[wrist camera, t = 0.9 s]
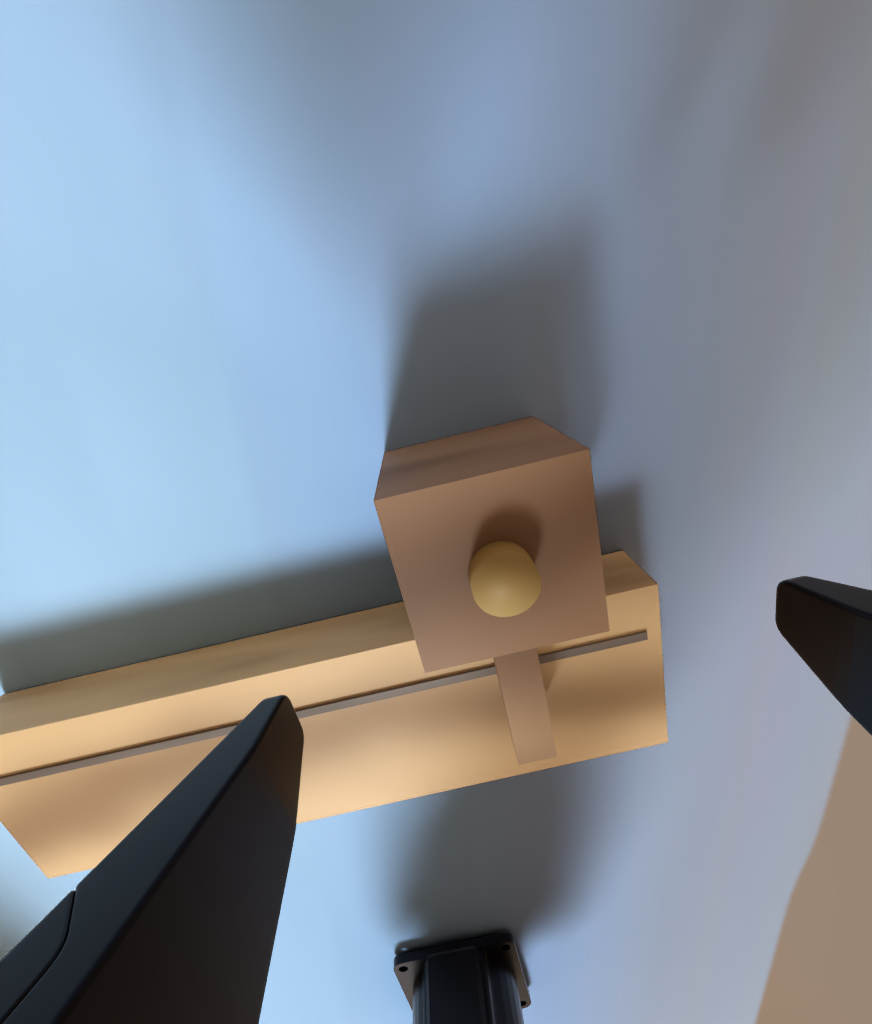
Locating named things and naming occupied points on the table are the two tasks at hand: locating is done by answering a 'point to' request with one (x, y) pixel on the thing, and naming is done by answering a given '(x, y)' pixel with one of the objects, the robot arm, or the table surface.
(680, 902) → the table surface
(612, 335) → the table surface
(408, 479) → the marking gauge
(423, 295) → the table surface
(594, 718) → the board
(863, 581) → the table surface
